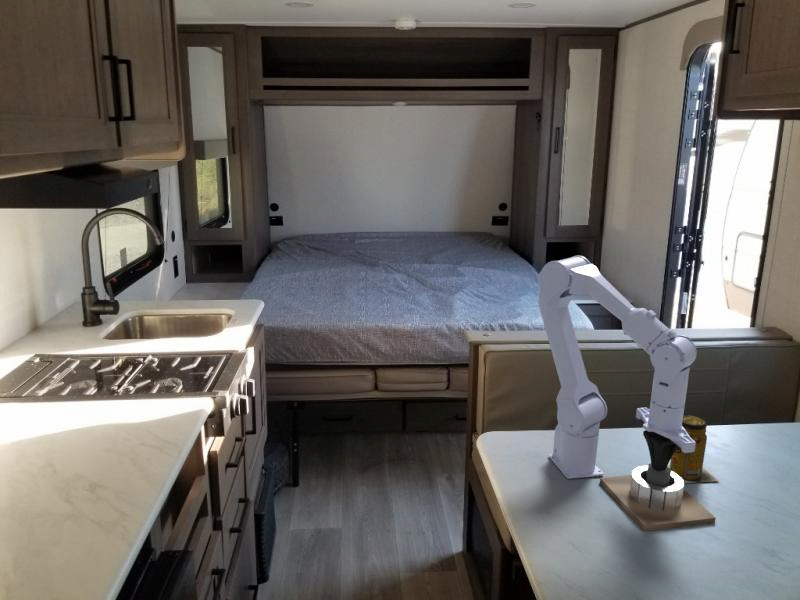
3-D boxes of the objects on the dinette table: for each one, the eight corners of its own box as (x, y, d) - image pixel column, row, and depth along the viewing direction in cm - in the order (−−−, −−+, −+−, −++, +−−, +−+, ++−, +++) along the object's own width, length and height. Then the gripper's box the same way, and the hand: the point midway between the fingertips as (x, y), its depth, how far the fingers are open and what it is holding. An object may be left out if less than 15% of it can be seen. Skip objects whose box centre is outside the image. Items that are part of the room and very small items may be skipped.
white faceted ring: (620, 486, 124) (623, 467, 123) (662, 482, 125) (665, 463, 124) (646, 513, 115) (649, 493, 114) (691, 508, 117) (694, 488, 116)
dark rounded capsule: (642, 498, 120) (646, 470, 118) (645, 488, 123) (649, 460, 121) (664, 504, 118) (669, 476, 116) (667, 494, 121) (671, 466, 120)
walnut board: (599, 482, 127) (600, 478, 127) (663, 476, 129) (663, 471, 129) (644, 530, 112) (644, 525, 111) (714, 522, 114) (715, 517, 114)
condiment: (661, 465, 134) (668, 413, 131) (699, 464, 135) (707, 412, 131) (679, 484, 127) (686, 429, 124) (719, 482, 128) (728, 428, 124)
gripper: (625, 388, 121) (618, 452, 125) (674, 421, 107) (664, 492, 111) (657, 385, 123) (649, 448, 126) (709, 417, 109) (699, 487, 113)
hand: (658, 469), depth 119 cm, fingers closed, pressing on dark rounded capsule
